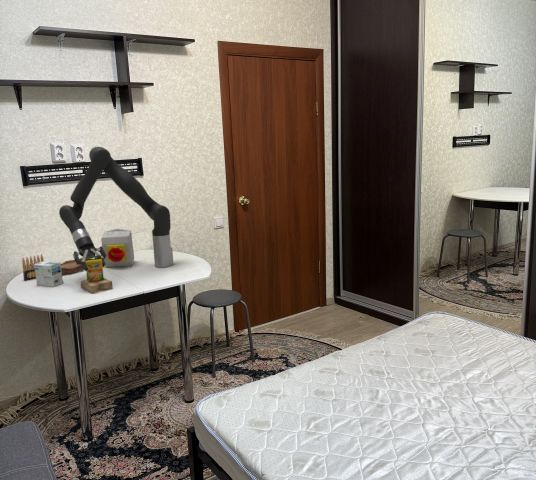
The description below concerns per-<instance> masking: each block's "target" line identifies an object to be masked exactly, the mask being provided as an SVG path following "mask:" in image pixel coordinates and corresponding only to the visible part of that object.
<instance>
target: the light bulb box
mask: <svg viewBox="0 0 536 480" xmlns="http://www.w3.org/2000/svg"><path fill="white" fill-rule="evenodd" d="M33 264H34V263H33ZM61 264H62V263H61V262H58V261H57V262H56V261H45V260H44V261H43V262H41V261H40V263H37V264H34V268H35V275H36V279H35V280H36V286H41V287H42V286H43V287H51V288H54V287H57V286H59V285H61V284H63V283H64V279H63V275H62V271H61Z"/></svg>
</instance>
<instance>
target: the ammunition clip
mask: <svg viewBox="0 0 536 480" xmlns="http://www.w3.org/2000/svg"><path fill="white" fill-rule="evenodd" d="M21 260H22V261H21V262H22V273H23V276H22V277H23V281H25V282H28V281H32V280H36V275H35V268H34V264H37V263H40V262H43V261H45V260H44V256H43V254H40V256H39V254H37V255H36V256H35V255H33V257H32V256H31V255H30V257H28V256H26V259H25V257H22V259H21Z"/></svg>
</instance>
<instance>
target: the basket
mask: <svg viewBox="0 0 536 480" xmlns="http://www.w3.org/2000/svg"><path fill="white" fill-rule="evenodd" d="M82 258H83V257H81V258H80V257H79V259H80V260H82ZM84 262H85V261H84ZM82 270H84V269H83V267H82V265H81V264H78V265H77V264H76V262H75V259H71V260H70V259H69V260H66V261H63V263H61V271H62V276H63V275H70V274H75V273H77V272H79V271H82Z"/></svg>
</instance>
